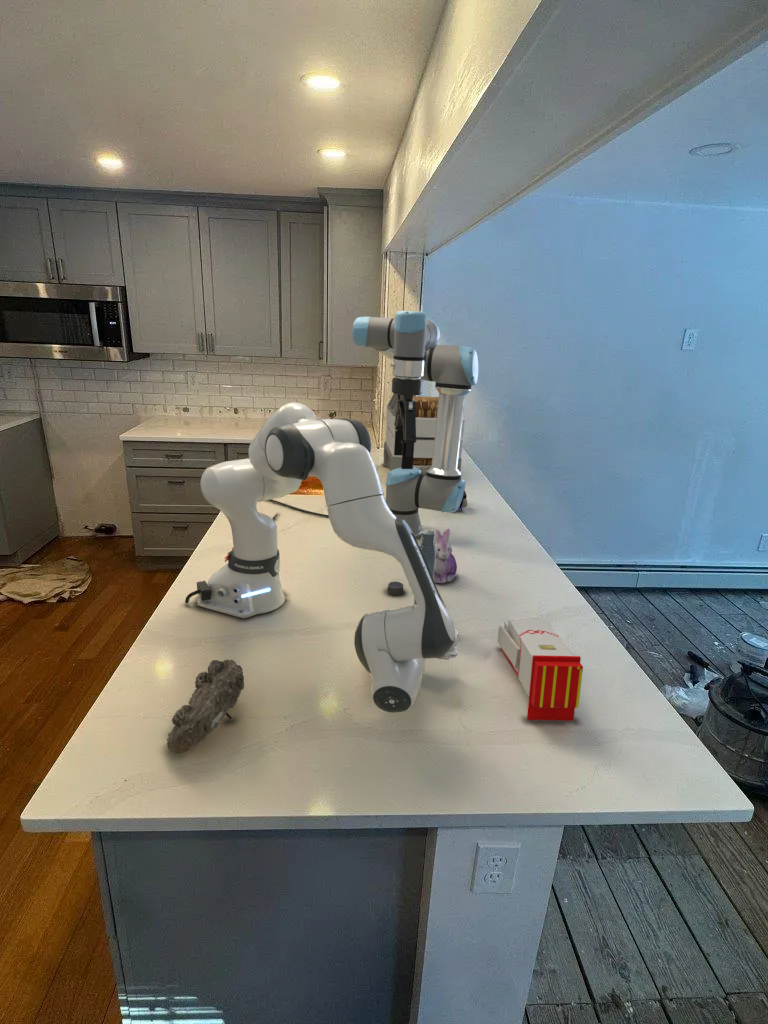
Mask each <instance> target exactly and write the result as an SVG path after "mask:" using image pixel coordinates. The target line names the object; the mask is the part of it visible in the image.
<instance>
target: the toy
mask: <svg viewBox="0 0 768 1024" xmlns="http://www.w3.org/2000/svg"><path fill="white" fill-rule="evenodd" d="M498 626H499V627H498V634H497V644H498V646H500V650H501V652H502V653H503V655H504V657H505V658H506V661H508V663H509V665H510V667H511V668H512V670H513V671H514V673H515V675H516V677H518V680H519V682H520V684H521V686H522V687H523V690H524V692H525V693H526V695H527V697H528V702H527V703H528V704H527V712H526V720H527V721H562V722H563V721H567V722H568V721H570V722H572V721H574V719H575V714H576V713H575V712H576V709H578V708H579V705H580V697H581V687H582V680H583V672H584V671H583V670H584V666H583V664H582V663H581V656H580V655H575V654H574V653H573V651H572V650H571V649H570V648H569V647H568V646H567V644H566V643H565V642H564V640H563V639H562V638H561V636H560V635H559V634H558V633H557V631H556V630H555V629H554V627H553V626H552V625H551V624H550V623H549V621H548V620H547V619H539V618H538V619H534V618H533V619H532V618H508V621H504V623H503V624H499V625H498Z"/></svg>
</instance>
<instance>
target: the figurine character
mask: <svg viewBox="0 0 768 1024" xmlns="http://www.w3.org/2000/svg"><path fill="white" fill-rule="evenodd" d="M467 495H468V494H467V493H466V489H465V490H464V494H463V498H462V501H461V503H460V506H459V508H458V509H459V510H460V512H463V509H464V508H465V509H466V508H467V506H468V499H467V497H468V496H467ZM458 509H457V510H458Z"/></svg>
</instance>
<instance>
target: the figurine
mask: <svg viewBox="0 0 768 1024" xmlns="http://www.w3.org/2000/svg"><path fill="white" fill-rule="evenodd" d="M434 533H435V535H434V538H435V542H434V544H435V551H436V560H435V573H434V582H435V584H436V583H437V584H445V583H450V582H452V581H453V580H454V579H455V578H456V574H457V570H458V564H457V559H456V558H455V556H454V554H453V548H452V545H451V543H450V535H451V530H450V528H446V530H445V531H444V533H443V535H442V534H441V532H440V530H438V529H435V531H434Z"/></svg>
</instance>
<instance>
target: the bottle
mask: <svg viewBox="0 0 768 1024" xmlns="http://www.w3.org/2000/svg"><path fill="white" fill-rule="evenodd" d="M420 537H421V538H420V543H419V547H420V549H421V551H422V554H423V556H424V558H425V561H426V563H427V565H428V568H429V570H430V573H431V575H432V578H433V580H434V573H435V560H436V551H435V531H433V530H429V529H424V530H422V532H421V536H420ZM415 604H416V600H415V598H414V597H413V605H415Z"/></svg>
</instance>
